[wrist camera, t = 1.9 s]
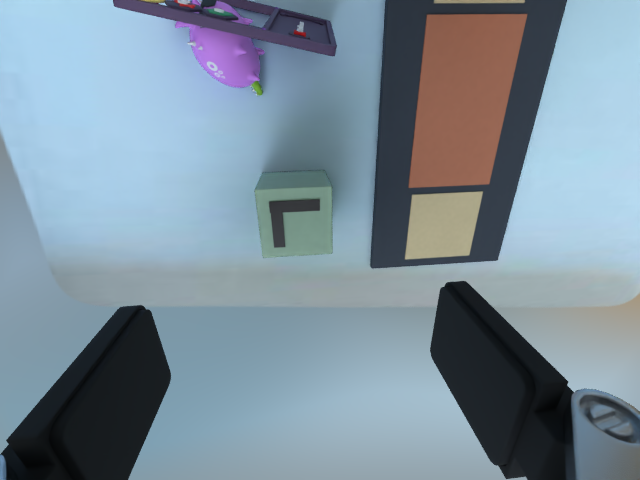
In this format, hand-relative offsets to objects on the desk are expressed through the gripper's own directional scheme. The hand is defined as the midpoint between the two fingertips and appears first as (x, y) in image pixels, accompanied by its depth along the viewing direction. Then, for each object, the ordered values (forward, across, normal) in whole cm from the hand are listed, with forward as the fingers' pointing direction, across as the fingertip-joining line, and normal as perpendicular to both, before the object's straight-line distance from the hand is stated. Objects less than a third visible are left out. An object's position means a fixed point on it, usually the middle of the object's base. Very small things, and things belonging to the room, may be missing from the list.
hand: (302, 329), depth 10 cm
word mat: (+14, -12, -6) cm, 19 cm away
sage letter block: (+14, 0, 0) cm, 14 cm away
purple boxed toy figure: (+14, +2, -10) cm, 17 cm away
